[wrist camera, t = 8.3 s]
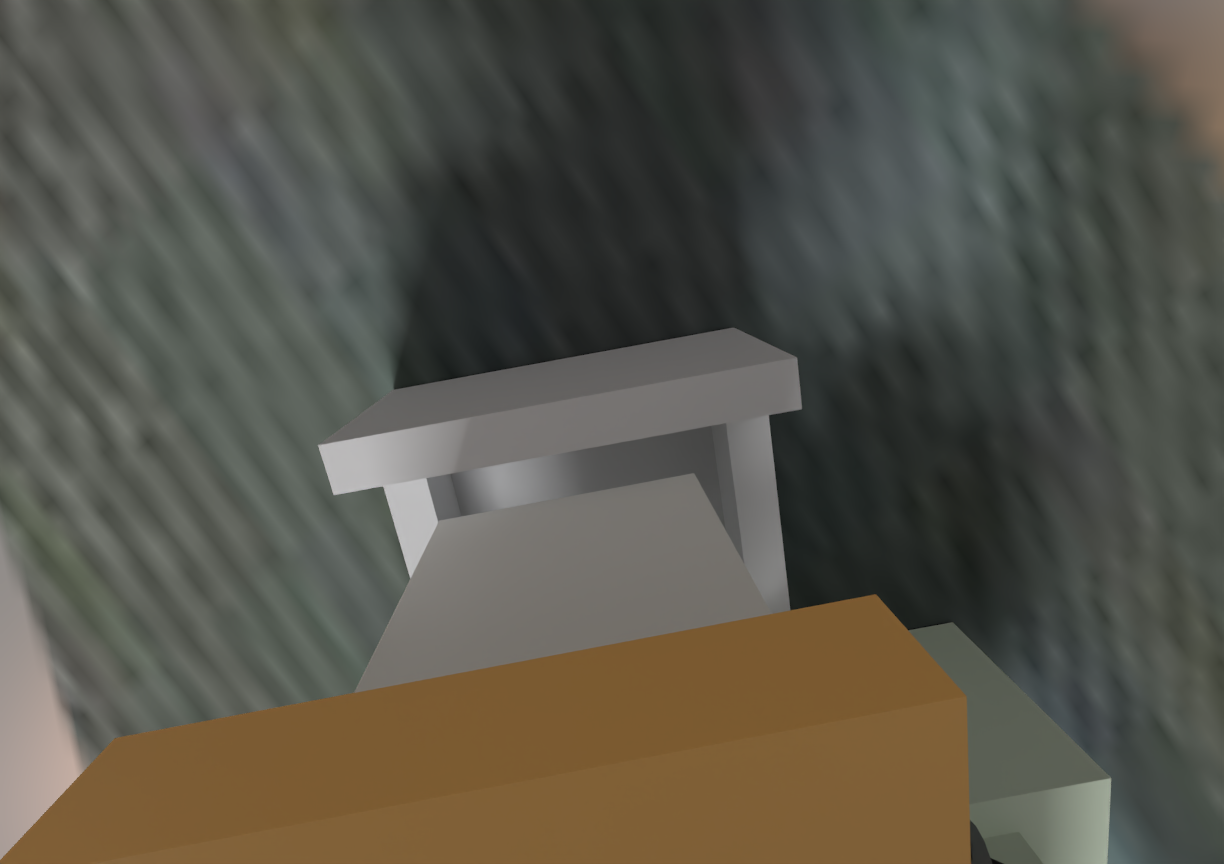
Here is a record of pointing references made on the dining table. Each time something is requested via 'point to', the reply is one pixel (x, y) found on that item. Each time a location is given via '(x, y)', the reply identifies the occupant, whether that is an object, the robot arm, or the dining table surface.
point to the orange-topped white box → (564, 721)
